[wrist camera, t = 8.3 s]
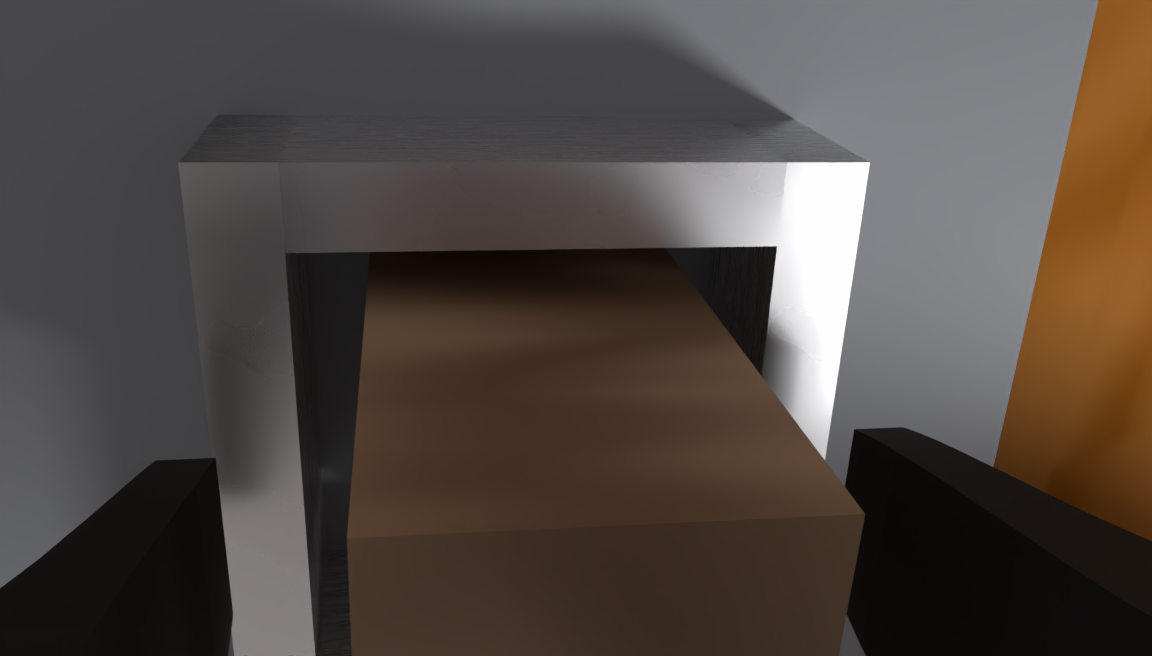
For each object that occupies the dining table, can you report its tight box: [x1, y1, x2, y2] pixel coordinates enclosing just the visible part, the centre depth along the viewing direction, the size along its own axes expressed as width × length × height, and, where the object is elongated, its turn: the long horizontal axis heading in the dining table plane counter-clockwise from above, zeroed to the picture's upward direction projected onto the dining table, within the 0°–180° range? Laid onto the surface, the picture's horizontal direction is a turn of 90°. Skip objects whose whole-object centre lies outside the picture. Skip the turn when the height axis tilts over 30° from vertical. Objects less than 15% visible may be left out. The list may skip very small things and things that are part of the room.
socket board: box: [0, 0, 1099, 656], centre depth 14 cm, size 16×14×3 cm
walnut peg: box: [347, 248, 865, 656], centre depth 12 cm, size 4×4×7 cm
